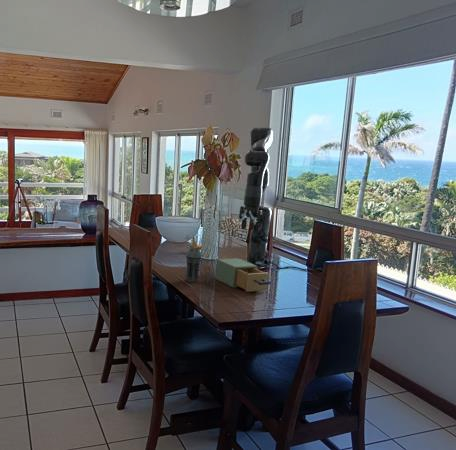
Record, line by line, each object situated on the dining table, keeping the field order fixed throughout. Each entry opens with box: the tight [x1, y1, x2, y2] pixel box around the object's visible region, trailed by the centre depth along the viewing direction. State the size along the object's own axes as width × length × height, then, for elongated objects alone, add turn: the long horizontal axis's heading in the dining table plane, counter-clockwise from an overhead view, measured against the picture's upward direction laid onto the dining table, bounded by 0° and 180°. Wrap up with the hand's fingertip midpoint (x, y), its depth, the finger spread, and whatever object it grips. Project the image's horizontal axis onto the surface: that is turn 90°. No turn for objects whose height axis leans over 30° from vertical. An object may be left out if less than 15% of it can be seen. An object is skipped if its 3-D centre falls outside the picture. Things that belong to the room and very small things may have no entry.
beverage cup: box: [185, 238, 203, 283], centre depth 212 cm, size 7×7×20 cm
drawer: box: [235, 268, 271, 293], centre depth 205 cm, size 18×11×8 cm, turn 26°
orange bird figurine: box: [184, 234, 203, 251], centre depth 273 cm, size 7×18×11 cm, turn 84°
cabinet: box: [214, 257, 257, 288], centre depth 216 cm, size 15×13×10 cm
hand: (249, 230), depth 210 cm, fingers open, 8 cm apart
